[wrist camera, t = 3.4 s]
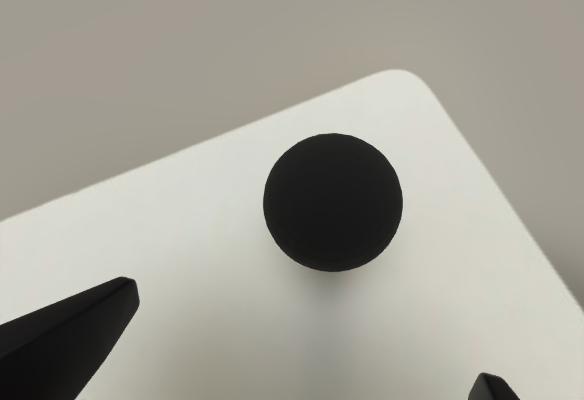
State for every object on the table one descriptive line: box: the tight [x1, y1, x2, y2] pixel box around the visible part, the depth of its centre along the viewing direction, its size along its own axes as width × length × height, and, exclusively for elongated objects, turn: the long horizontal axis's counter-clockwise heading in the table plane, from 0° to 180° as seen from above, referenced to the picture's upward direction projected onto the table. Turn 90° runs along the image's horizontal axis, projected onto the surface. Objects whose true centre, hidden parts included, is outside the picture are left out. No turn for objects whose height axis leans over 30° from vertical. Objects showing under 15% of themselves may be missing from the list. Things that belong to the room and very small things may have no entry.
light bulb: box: [263, 133, 403, 272], centre depth 16 cm, size 6×6×10 cm
